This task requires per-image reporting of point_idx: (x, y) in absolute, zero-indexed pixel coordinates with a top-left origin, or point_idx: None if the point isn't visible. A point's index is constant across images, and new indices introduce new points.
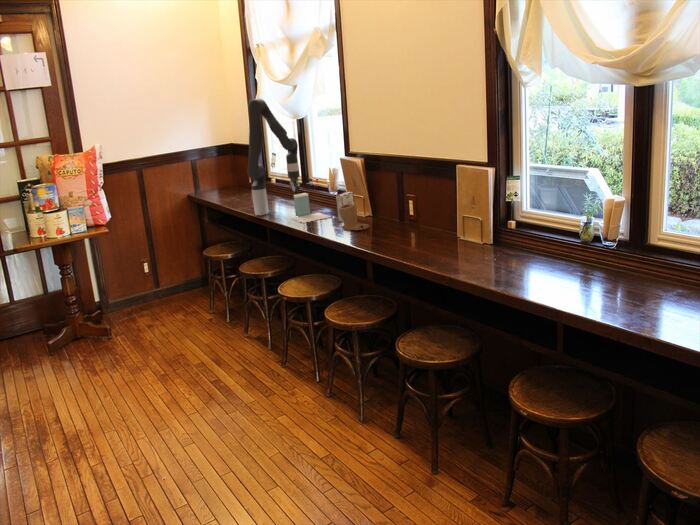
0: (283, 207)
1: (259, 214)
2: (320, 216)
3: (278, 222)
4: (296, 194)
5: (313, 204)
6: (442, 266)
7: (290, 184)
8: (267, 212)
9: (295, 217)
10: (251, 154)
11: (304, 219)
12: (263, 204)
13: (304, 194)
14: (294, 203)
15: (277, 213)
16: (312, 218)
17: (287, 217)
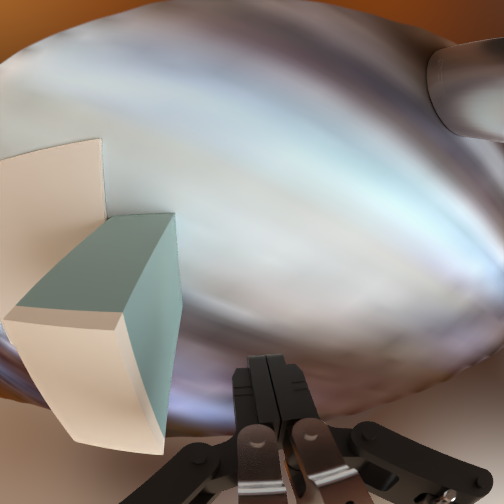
0: (475, 271)
1: (438, 52)
2: None
3: (94, 30)
4: (125, 377)
5: (380, 397)
6: None
7: (435, 482)
8: (440, 105)
9: (99, 180)
10: None
11: (9, 209)
12: (482, 72)
13: (55, 414)
14: (148, 257)
15: (403, 161)
16: (7, 259)
17: (194, 140)
